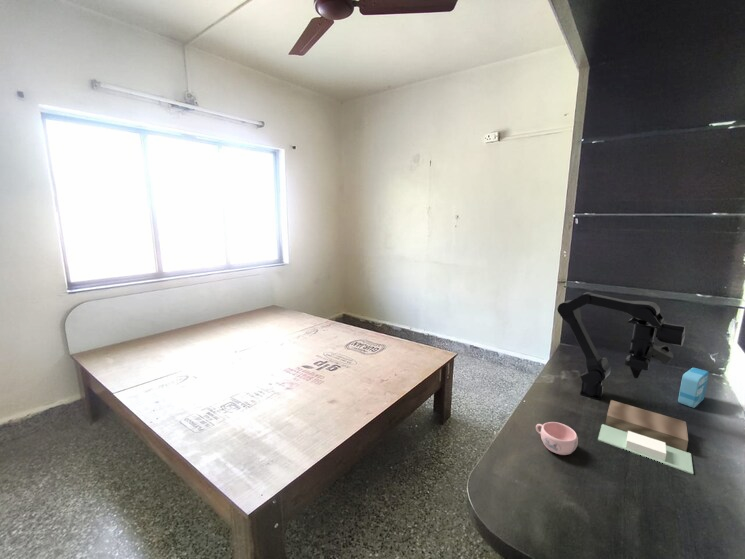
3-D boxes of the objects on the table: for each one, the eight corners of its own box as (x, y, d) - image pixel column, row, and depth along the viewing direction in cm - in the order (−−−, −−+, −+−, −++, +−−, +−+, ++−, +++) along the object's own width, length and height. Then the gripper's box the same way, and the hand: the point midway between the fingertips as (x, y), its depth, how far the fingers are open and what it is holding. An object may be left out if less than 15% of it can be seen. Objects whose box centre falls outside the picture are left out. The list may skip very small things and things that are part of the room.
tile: (627, 430, 104) (626, 437, 105) (627, 440, 100) (625, 447, 100) (665, 442, 99) (664, 449, 99) (666, 453, 94) (664, 461, 95)
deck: (605, 425, 111) (606, 415, 110) (609, 409, 120) (610, 399, 119) (685, 452, 98) (688, 440, 98) (683, 432, 107) (685, 421, 106)
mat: (597, 440, 104) (597, 439, 104) (601, 424, 112) (602, 423, 112) (693, 474, 90) (693, 473, 90) (690, 454, 98) (690, 453, 97)
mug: (581, 449, 100) (583, 432, 99) (568, 464, 94) (570, 446, 93) (542, 430, 110) (543, 414, 109) (527, 442, 104) (528, 426, 103)
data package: (693, 409, 120) (699, 379, 117) (677, 403, 123) (682, 374, 121) (704, 399, 126) (709, 370, 123) (688, 394, 130) (693, 366, 127)
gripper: (672, 352, 103) (663, 396, 106) (674, 335, 116) (666, 376, 119) (628, 342, 110) (621, 384, 114) (635, 328, 124) (628, 366, 127)
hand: (635, 377), depth 118 cm, fingers closed
